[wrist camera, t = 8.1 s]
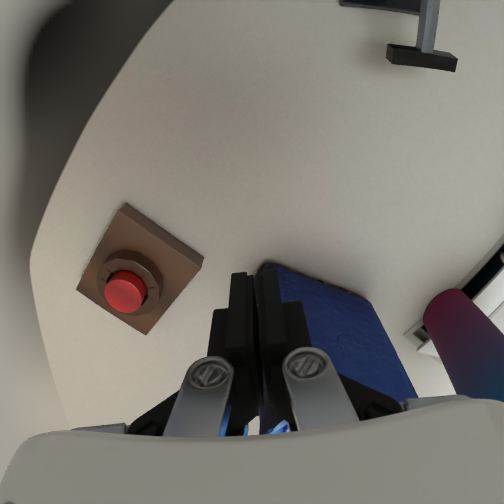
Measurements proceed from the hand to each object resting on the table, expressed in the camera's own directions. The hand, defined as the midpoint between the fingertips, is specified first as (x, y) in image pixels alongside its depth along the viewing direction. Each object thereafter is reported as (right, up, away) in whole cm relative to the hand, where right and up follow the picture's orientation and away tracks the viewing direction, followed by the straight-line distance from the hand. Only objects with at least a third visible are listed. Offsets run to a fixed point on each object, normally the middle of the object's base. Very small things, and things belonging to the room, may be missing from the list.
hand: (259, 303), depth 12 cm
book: (+7, -3, +24) cm, 25 cm away
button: (-13, -2, +19) cm, 23 cm away
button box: (-13, 0, +22) cm, 26 cm away
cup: (+26, -6, +26) cm, 37 cm away
